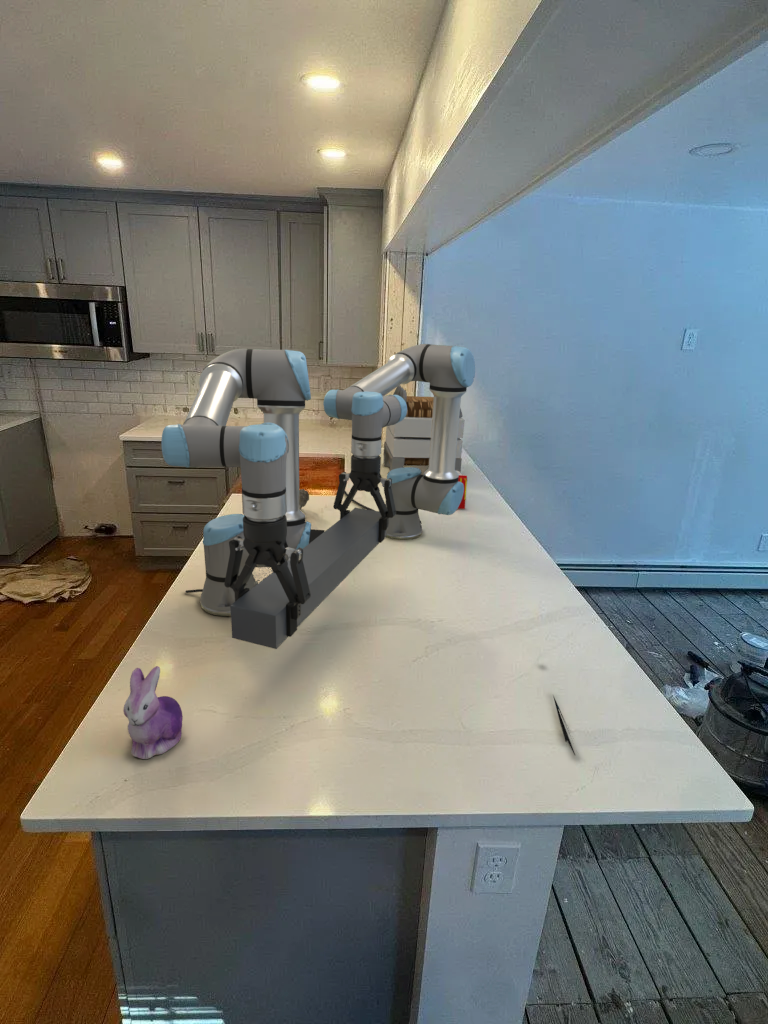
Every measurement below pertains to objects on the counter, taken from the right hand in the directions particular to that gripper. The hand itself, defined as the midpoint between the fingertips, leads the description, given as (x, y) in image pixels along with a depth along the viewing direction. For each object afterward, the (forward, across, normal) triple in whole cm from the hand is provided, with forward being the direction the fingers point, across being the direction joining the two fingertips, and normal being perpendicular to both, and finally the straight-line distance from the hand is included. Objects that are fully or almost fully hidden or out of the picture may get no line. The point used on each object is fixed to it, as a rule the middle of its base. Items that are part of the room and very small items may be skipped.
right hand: (363, 537), depth 150 cm
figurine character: (+18, -23, +16) cm, 33 cm away
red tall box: (+18, +2, +95) cm, 97 cm away
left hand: (0, 0, -49) cm, 49 cm away
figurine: (+17, -14, -66) cm, 69 cm away
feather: (+17, +53, -28) cm, 63 cm away
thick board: (0, 0, -24) cm, 25 cm away
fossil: (+18, -46, +47) cm, 68 cm away
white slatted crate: (+18, -20, +127) cm, 130 cm away
